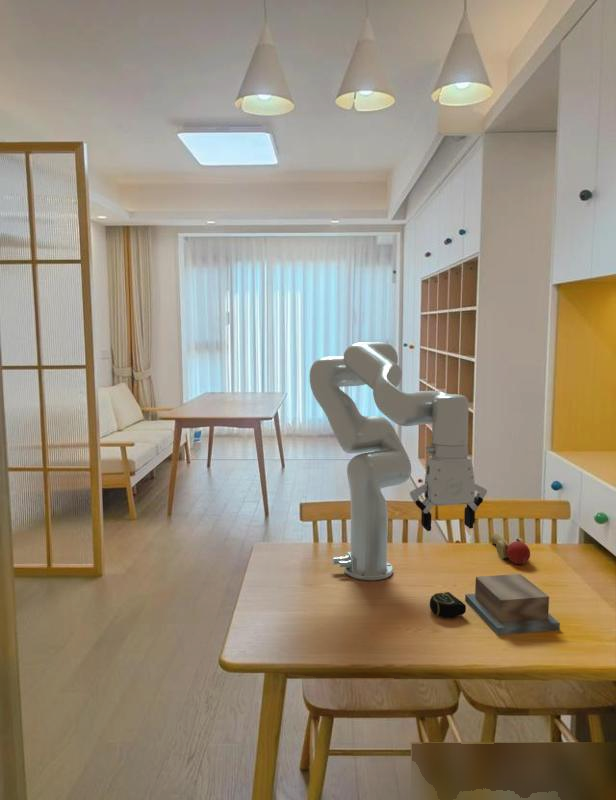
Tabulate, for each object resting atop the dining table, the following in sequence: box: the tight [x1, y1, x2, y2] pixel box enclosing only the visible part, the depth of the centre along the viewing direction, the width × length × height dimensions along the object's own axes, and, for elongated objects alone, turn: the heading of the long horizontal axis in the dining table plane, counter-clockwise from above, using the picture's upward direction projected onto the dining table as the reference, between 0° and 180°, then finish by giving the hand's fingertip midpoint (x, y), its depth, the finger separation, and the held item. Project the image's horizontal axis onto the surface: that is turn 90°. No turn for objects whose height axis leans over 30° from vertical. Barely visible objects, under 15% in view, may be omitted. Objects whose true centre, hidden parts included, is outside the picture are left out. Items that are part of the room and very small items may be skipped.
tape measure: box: [429, 591, 467, 619], centre depth 131 cm, size 7×7×4 cm
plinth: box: [464, 573, 561, 636], centre depth 130 cm, size 14×16×6 cm
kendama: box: [490, 533, 531, 565], centre depth 166 cm, size 8×6×18 cm
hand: (447, 527), depth 129 cm, fingers open, 9 cm apart
